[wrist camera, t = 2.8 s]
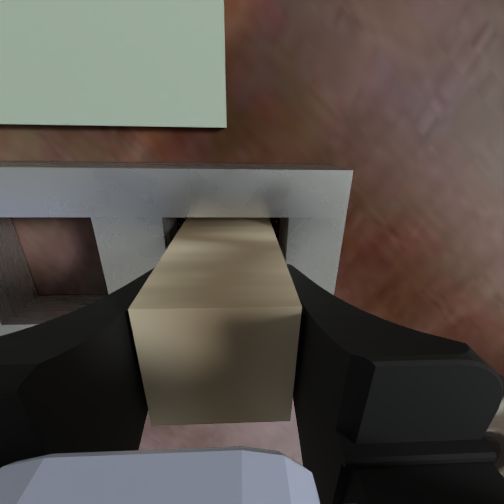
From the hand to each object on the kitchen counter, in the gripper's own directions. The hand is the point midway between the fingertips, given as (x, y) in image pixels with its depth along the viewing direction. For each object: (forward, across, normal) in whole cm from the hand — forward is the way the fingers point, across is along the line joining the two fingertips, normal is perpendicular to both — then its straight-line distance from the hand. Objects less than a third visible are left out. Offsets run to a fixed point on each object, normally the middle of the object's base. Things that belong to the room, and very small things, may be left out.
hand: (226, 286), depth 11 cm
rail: (+4, +4, 0) cm, 5 cm away
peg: (+4, 0, 0) cm, 4 cm away
